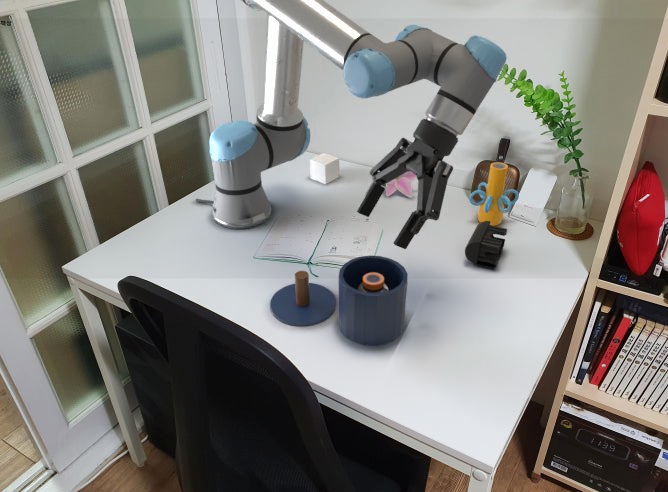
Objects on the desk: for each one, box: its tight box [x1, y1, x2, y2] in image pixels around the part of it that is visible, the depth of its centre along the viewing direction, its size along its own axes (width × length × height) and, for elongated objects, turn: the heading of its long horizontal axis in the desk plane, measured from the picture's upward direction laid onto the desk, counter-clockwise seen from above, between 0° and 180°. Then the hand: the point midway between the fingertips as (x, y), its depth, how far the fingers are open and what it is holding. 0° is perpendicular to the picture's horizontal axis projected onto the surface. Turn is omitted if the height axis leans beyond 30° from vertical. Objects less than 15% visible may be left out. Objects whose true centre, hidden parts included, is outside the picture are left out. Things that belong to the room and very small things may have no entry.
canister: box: [338, 255, 409, 347], centre depth 107 cm, size 13×13×12 cm
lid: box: [269, 270, 337, 327], centre depth 114 cm, size 14×14×8 cm
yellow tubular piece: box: [468, 161, 520, 227], centre depth 138 cm, size 12×10×15 cm
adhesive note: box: [309, 152, 340, 185], centre depth 162 cm, size 6×6×6 cm
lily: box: [385, 171, 418, 199], centre depth 155 cm, size 12×12×10 cm
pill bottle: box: [357, 272, 389, 293], centre depth 107 cm, size 6×6×11 cm
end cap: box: [464, 221, 508, 271], centre depth 128 cm, size 10×7×7 cm
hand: (380, 229), depth 105 cm, fingers open, 13 cm apart
